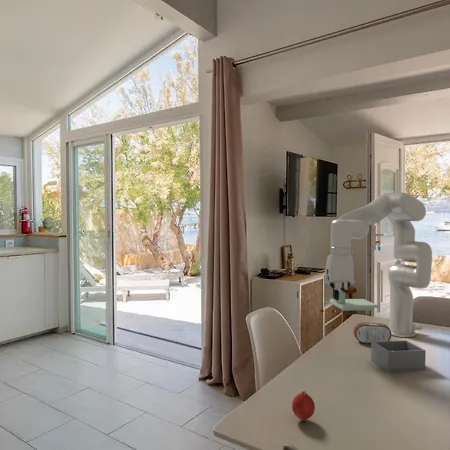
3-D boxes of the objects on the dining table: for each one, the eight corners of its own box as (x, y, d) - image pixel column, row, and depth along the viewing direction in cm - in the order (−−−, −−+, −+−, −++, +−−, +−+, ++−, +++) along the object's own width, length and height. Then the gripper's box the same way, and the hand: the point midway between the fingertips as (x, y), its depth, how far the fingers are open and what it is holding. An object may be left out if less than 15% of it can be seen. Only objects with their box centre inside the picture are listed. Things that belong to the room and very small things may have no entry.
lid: (363, 304, 158) (363, 288, 158) (378, 310, 147) (378, 293, 147) (329, 304, 156) (329, 288, 156) (342, 311, 145) (342, 293, 145)
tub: (405, 358, 146) (406, 340, 146) (425, 370, 136) (425, 350, 135) (371, 360, 144) (371, 341, 144) (387, 372, 133) (388, 352, 133)
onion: (289, 415, 104) (289, 385, 104) (310, 414, 104) (311, 384, 104) (295, 427, 98) (295, 395, 98) (317, 426, 98) (318, 395, 98)
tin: (389, 342, 165) (390, 323, 165) (392, 345, 162) (392, 325, 162) (353, 341, 167) (353, 321, 166) (354, 343, 163) (355, 323, 163)
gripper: (355, 251, 155) (353, 297, 156) (317, 251, 153) (315, 297, 153) (364, 253, 148) (363, 301, 148) (324, 252, 145) (323, 302, 146)
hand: (339, 299), depth 151 cm, fingers closed on lid
